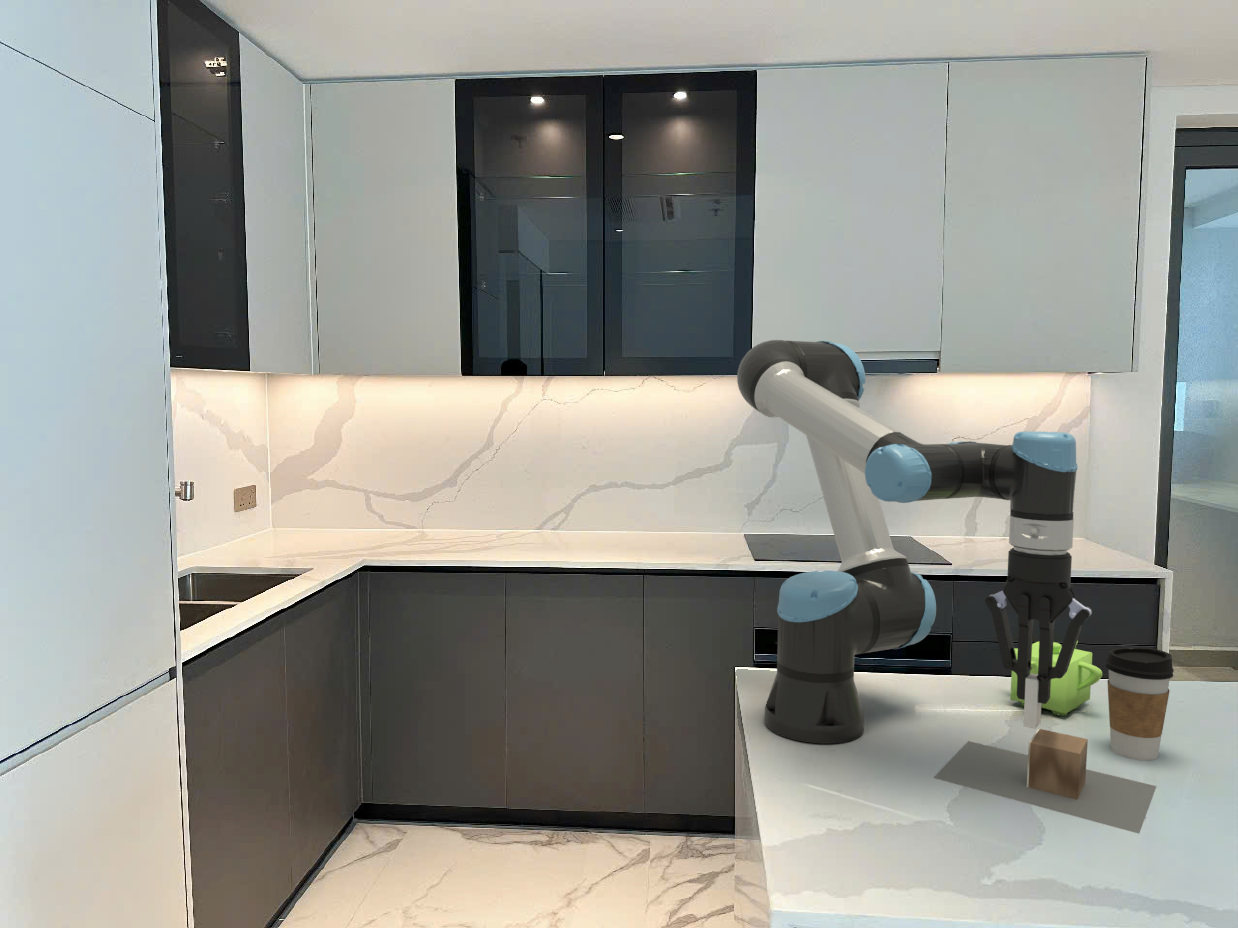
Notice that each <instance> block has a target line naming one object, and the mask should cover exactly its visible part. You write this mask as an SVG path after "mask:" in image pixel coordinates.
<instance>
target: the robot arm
mask: <svg viewBox="0 0 1238 928" xmlns="http://www.w3.org/2000/svg"><path fill="white" fill-rule="evenodd" d="M736 374H737V375H736V376H737V379H736V381H737V387H738V390H739V392H740V394H741V396H742V397H743V399H744V400H745V402H746V403H747V404H748V405H749V406H751V408H753V409H754V410H756V411H757V412H759V413H760V414H761V415H763V416H765V417H768V418H779V419H781V420H783V421H784V422H786V423H787V424H789V425H790V426H792V427H793V428H794V429H797V430H798V431H799V432H801V433H802V434H804V435H805V436H806V439H807V443H808V447H809V449H810V454H811V457H812V460H813V463H814V468H815V471H816V475H817V478H818V482H819V486H820V490H821V492H822V496H823V500H824V504H825V506H826V510H827V513H828V517H829V521H830V525H831V528H832V533H833V535H834V539H835V542H836V546H837V550H838V554H839V557H840V560H841V564H840V566H839V568H838V570H823V571H822V570H821V571H818V570H812V571H807V572H802V573H798V574H795V575H793V576H789V578H787V579H786V580H784V581H783V583H781V587H780V589H779V596H778V603H777V607H776V608H777V609H776V613H777V614H778V615H777V616H778V617H777V618H778V619H777V621H778V622H777V657H776V659H777V660H776V674H775V678H774V680H773V684H772V685H771V689H770V691H769V694H768V697H767V700H766V702H765V705H764V720H763V721H764V725H765V726H766V728H768V729H769V730H771V731H772V732H773V733H775V734H776V735H779V736H782V737H784V738H788V739H790V740H795V741H798V742H799V741H800V742H803V743H805V742H806V743H813V744H840V743H846V742H849V741H850V742H851V741H853V740H855V739H857V738H859V737H861V736H862V735H863V734H864V731H865V714H864V709H863V707H862V703H861V700H860V697H859V693H858V689H857V687H856V683H855V677H854V676H855V657H856V656H855V655H861V654H867V653H873V652H879V651H885V650H891V649H892V650H899V649H901V648H906V647H907V646H911V645H915V644H918V643H920V642H921V641H923V640H924V639H925V638H926V637H927V636H928V635H929V633H930V632H931V630H932V626H933V624H934V623H935V619H936V617H937V615H936V614H937V603H936V596H935V592H934V590H933V588H932V586H931V584H930V583H929V581H928V580H927V579H924V578H923V576H922V575H920V574H919V573H915V572H913V571H911V568H910V565H909V561H908V558H907V556H905V555H904V554H902V553H900V552H899V551H896V550H895V549H894V545H893V542H892V538H891V535H890V532H889V529H888V525H887V522H886V519H885V516H884V512H883V509H882V506H881V502H880V500H881V501H883V502H888V503H889V502H895V503H900V504H901V503H902V504H905V503H907V504H909V503H912V502H920V501H921V502H922V501H932V500H947V499H948V500H950V499H965V498H967V499H968V498H986V499H987V498H988V499H998V500H1004V501H1009V503H1010V504H1009V505H1010V506H1009V509H1010V513H1009V514H1010V515H1009V533H1008V536H1009V537H1008V543H1009V545H1011V546H1012V548H1010V550H1008V557H1007V579H1006V581H1005V583H1004V585H1003V587H1002V590H1000V591H998V592H996V593H992V594H990V595H988V596H986V597H985V599H984V602H985V605H986V606H987V609H988V610H989V612H991V615H992V619H993V625H994V630H995V633H996V634H995V635H996V638H997V639H996V640H997V643H998V648H999V651H1000V653H999V654H1000V657H1001V663H1002V666H1003V668H1004V669H1006V670H1010V671H1011V672H1012V671H1014V672H1015V673H1016V674H1017V697H1018V699H1023V700H1025V704H1024V706H1023V707H1024V709H1023V727H1025V728H1029V729H1033V730H1034V729H1035V730H1037V729H1038V727H1039V725H1040V724H1041V719H1042V718H1041V716H1042V708H1041V703H1043V704H1046V703H1047V702H1048V701H1049V699H1050V688H1051V679H1054V678H1058V679H1059V678H1062V677H1063V676H1064V675H1065V673H1066V672H1067V670H1068V667H1069V664H1070V661H1071V658H1072V655H1073V652H1074V649H1076V648H1075V646H1076V647H1077V645H1076V643H1077V641H1078V639H1079V636H1080V634H1081V631H1082V628H1083V624H1084V623H1085V622H1086V621H1087V620H1088V619H1089V618H1090V616H1091V615H1092V614H1093V609H1092V607H1090V606H1088V605H1087V606H1085V605H1083V604H1082V603H1080V601H1078V600H1077V599H1076V598H1075V592H1074V591H1073V589H1072V586H1071V580H1072V579H1071V577H1072V558H1073V556H1072V555H1071V553H1069V552H1068V551H1069V550H1071V549H1072V548H1073V540H1074V520H1075V519H1074V503H1075V489H1076V488H1075V487H1076V480H1077V479H1076V477H1077V471H1078V463H1077V441H1076V438H1075V436H1073V434H1071V433H1069V432H1062V431H1061V432H1060V431H1034V430H1033V431H1031V430H1030V431H1029V430H1028V431H1018V432H1016V433H1014V435H1013V441H1012V444H1008V445H1007V444H995V443H986V442H977V441H972V440H971V441H970V440H969V441H962V440H961V441H950V442H949V443H936V444H934V443H929V444H927V443H926V444H925V443H920V442H918V441H916V440H914V439H913V438H911V437H909V436H907V435H905V434H904V433H902V432H901V431H899V430H897V429H895V428H893V427H892V426H890V425H888V424H887V423H885V422H883V421H881V420H880V419H878V418H877V417H875V416H873V415H871V414H870V413H868V412H866V411H865V410H862V409H861V408H860V407H861V406H860V400H861V399H862V396H863V394H864V391H865V388H864V386H863V385H864V384H865V383H866V373H865V368H864V365H863V363H862V360H861V359H860V356H859V355H858V354H857V353H856V352H855V351H854V350H853V349H852V348H850V347H849V346H847V345H845V344H842V343H838V342H832V341H827V340H819V341H804V340H803V341H801V340H785V339H784V340H783V339H771V340H767V341H763V342H760V343H758V344H756V345H755V346H754V347H752V348H751V349H749V350H748V351H747V352H746V353H745V355H744V356H743V357H742V359H741V360H740V363H739V365H738V369H737V373H736ZM1007 601H1008V602H1009V604H1010V605H1011V607H1012V608H1013V611H1015V613H1016V614H1017V615H1018V617H1017V618H1018V619H1017V624H1018V636H1017V637H1018V639H1017V648H1018V656H1017V659H1016V654H1015V649H1014V648H1015V645H1014V641H1013V636H1012V631H1011V626H1010V621H1009V618H1008V617H1009V615H1008V612H1007V610H1006V607H1007V604H1008V602H1007ZM1067 608H1069V613H1068V616H1069V618H1070V619H1071V621H1070V622H1069V624H1068V627H1067V630H1066V632H1065V636H1064V639H1063V642H1062V644H1061V646H1062V647H1061V650H1060V653H1059V656H1058V659H1057V662H1056V665H1055V667H1052V662H1053V642H1054V637H1055V636H1054V635H1055V625H1056V619H1057V618H1058V617H1059V616H1060V615H1062V613H1063V612H1064V611H1065V610H1066V609H1067ZM1035 620H1037V621H1039V622H1038V627H1039V640H1038V641H1039V662H1038V675H1037V674H1032V673H1030V670H1031V669H1032V667H1031V656H1032V644H1033V632H1034V622H1035ZM1077 644H1078V643H1077Z"/></svg>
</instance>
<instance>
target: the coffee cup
mask: <svg viewBox="0 0 1238 928" xmlns="http://www.w3.org/2000/svg"><path fill="white" fill-rule="evenodd" d="M1173 667H1174V666H1173V658H1172V654H1171V653H1169V652H1166V651H1163V650H1160V649H1156V648H1152V647H1151V648H1150V647H1117V648H1116V647H1115V648H1112V649H1109V651H1108V653H1107V659H1106V660H1105V668H1106V669H1107V670H1108V679H1107V680H1106V681H1107V682H1106V683H1107V699H1108V716H1109V717H1108V718H1109V719H1108V720H1109V734H1110V739H1109V740H1110V750H1111V751H1113V753H1115V754H1116V755H1119V756H1122V757H1125V758H1126V759H1127V758H1128V759H1131V760H1137V761H1154V760H1156V759H1158V758H1159V755H1160V754H1159V753H1160V752H1159V751H1160V747H1161V746H1160V745H1161V739H1162V734H1163V731H1164V724H1165V718H1166V713H1167V707H1168V702H1169V697H1170V689H1169V687H1170V679H1173V677H1174V671H1175V670H1174V668H1173Z"/></svg>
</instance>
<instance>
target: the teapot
mask: <svg viewBox="0 0 1238 928" xmlns="http://www.w3.org/2000/svg"><path fill="white" fill-rule="evenodd" d="M1078 642H1079V641H1078V640H1077V643H1076V646H1075V649H1074V652H1073V655H1072V658H1071V661H1070V664H1069V667H1068V670H1067V672H1066V673H1065V675H1064V676H1063V677H1062V678H1059V679H1058V678H1054V679H1051V688H1050V699H1049V701H1048V702H1047V703H1046V704H1043V703H1041V709H1046V710H1049V711H1052V714H1054V715H1056V714H1059V715H1058V716H1060V715H1065V716H1067V715H1068V713H1070V712H1072V711H1073V710H1074V709H1079V708H1080V706H1081V705H1083V704H1084V703H1086V702H1088V701H1089V700H1091V686H1092V685H1094V684H1096V683H1097V682H1099V681H1100V680H1101V678H1102V677H1103V671H1102V670H1101V668H1099V667H1097V666H1096V665H1093V652H1091V651H1085V650H1081V649H1077V645H1078ZM1061 647H1062V644H1060V643H1058V642H1055V641H1053V662H1052V667H1055V665H1056V662H1057V659H1058V656H1059V653H1060V650H1061ZM1014 649H1015V654H1016V659H1017V656H1018V647H1017V648H1015V647H1014ZM1038 662H1039V640H1038V641H1036V642H1034V643H1032V656H1031V667H1032V669H1031V670H1030V673H1032V674H1037V675H1038ZM1010 680H1011V682H1010V696H1009V697H1010V700H1011V701H1015V702H1019V703H1021V706H1023V707H1024V704H1025V700H1023V699H1018V697H1017V674H1016V673H1015V672H1014V671H1012V670H1011V679H1010ZM1078 707H1079V708H1078ZM1066 714H1067V715H1066Z"/></svg>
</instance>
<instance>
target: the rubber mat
mask: <svg viewBox="0 0 1238 928" xmlns="http://www.w3.org/2000/svg"><path fill="white" fill-rule="evenodd" d="M1027 771H1028V754H1024V753H1019V752H1016V751H1011V750H1009V749H1003V748H998V747H996V746H991V745H987V744H983V743H979V742H974V741H970V740H968V741H966V743H965V744H963V746H962V747H961V748H960V749H959V750H958V751H957V752H956V753H955V754H954V756H952V758H951V759H950V760H948V762H946V764H945V765H944V766H943V767H942V768H941V769H940V770H939V771H938V772H937V773H936V774H935V775H934V776H933V779H936V780H940V781H943V782H947V783H951V784H955V785H958V786H962V787H965V788H969V789H973V790H976V791H980V792H983V793H988V794H991V795H995V796H1000V797H1002V798H1006V799H1010V800H1013V801H1018V802H1021V803H1025V804H1027V805H1028V804H1029V805H1031V806H1035V807H1039V808H1042V809H1043V808H1044V809H1047V810H1051V811H1054V812H1057V813H1062V814H1064V815H1069V816H1072V817H1077V818H1079V819H1083V820H1087V821H1091V822H1095V823H1098V824H1102V825H1106V826H1110V827H1113V828H1115V829H1116V828H1117V829H1120V830H1125V831H1128V832H1131V833H1135V834H1139V835H1140V833H1141V830H1142V827H1143V824H1144V822H1145V819H1146V816H1147V814H1148V811H1149V808H1150V806H1151V803H1152V799H1153V798H1154V795H1155V792H1156V789H1157V785H1154V784H1149V783H1145V782H1141V781H1138V780H1137V781H1136V780H1132V779H1128V778H1124V777H1120V776H1116V775H1111V774H1108V773H1103V772H1100V771H1099V772H1098V771H1095V770H1091V769H1087V768H1086V779H1085V785H1084V787H1083V789H1082V791H1081V793H1080V796H1079V798H1078V800H1077V799H1073V798H1069V797H1065V796H1061V795H1057V794H1053V793H1049V792H1045V791H1041V790H1037V789H1033V788H1029V787H1027Z"/></svg>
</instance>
